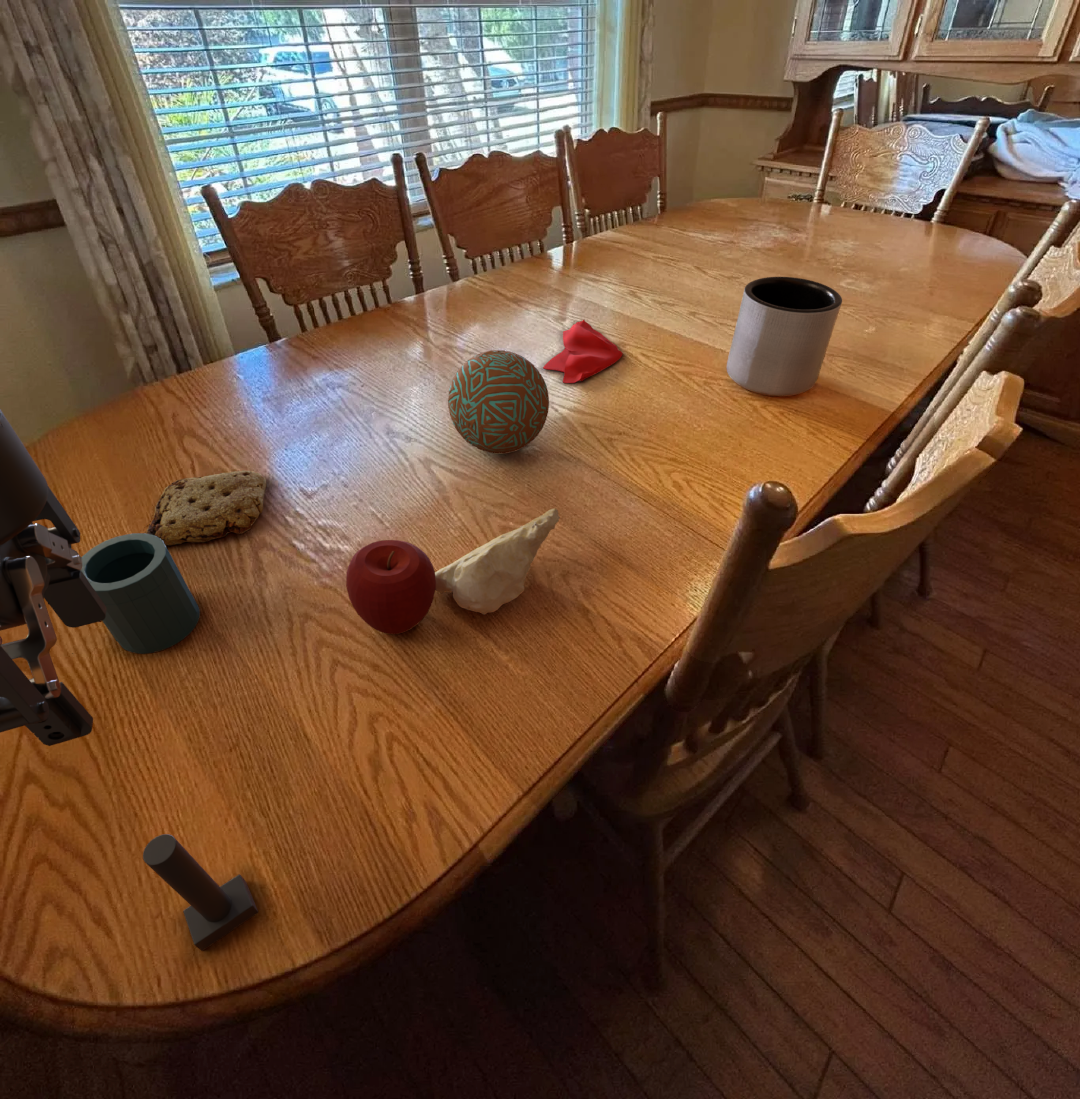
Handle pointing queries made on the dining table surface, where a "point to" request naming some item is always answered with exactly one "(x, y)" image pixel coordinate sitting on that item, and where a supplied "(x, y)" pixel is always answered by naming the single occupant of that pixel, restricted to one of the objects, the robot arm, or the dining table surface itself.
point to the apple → (391, 585)
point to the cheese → (496, 567)
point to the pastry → (208, 507)
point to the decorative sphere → (498, 401)
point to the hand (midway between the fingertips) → (81, 673)
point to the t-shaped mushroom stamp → (200, 892)
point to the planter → (782, 335)
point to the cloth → (583, 353)
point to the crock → (141, 592)
